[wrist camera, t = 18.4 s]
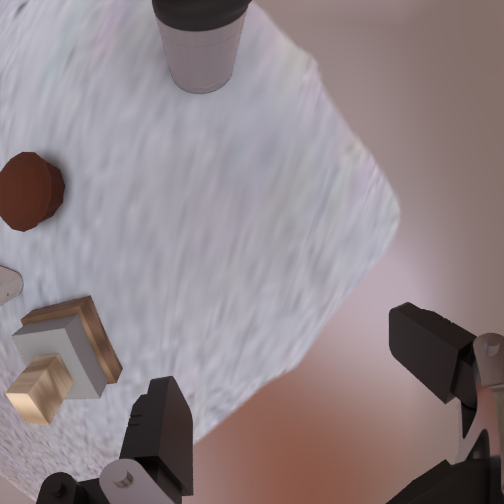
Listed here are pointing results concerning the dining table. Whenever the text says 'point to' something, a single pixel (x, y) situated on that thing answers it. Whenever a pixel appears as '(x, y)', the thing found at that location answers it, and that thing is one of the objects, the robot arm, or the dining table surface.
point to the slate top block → (64, 352)
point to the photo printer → (9, 285)
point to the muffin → (29, 191)
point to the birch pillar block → (41, 389)
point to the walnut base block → (91, 327)
